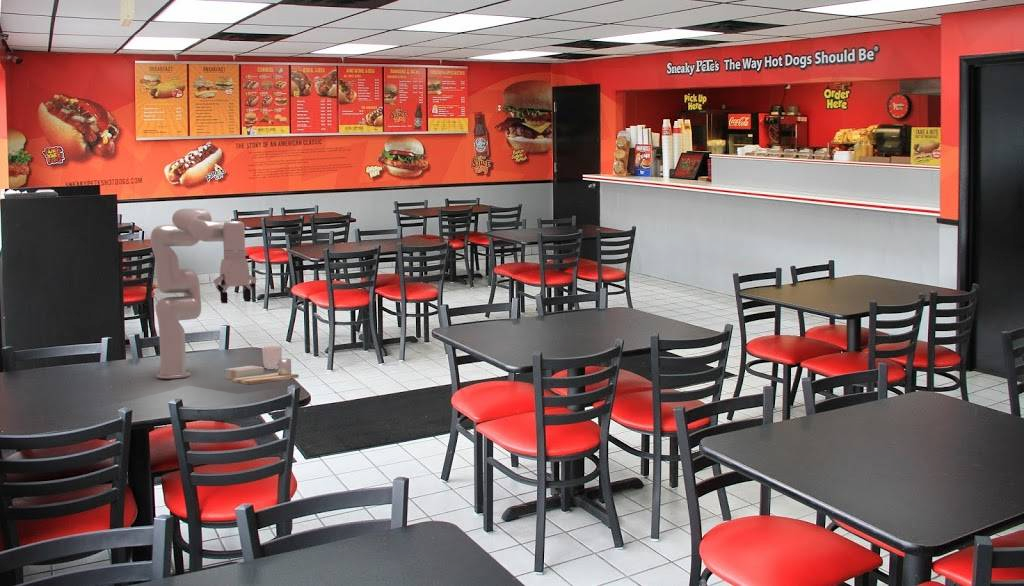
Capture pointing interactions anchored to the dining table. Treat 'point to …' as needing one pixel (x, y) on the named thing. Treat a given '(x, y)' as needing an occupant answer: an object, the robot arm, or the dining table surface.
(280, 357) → the pink cup
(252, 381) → the wooden board
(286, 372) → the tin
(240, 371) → the carton
